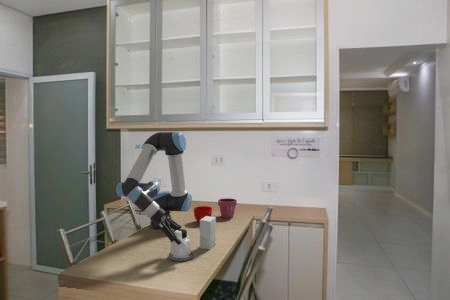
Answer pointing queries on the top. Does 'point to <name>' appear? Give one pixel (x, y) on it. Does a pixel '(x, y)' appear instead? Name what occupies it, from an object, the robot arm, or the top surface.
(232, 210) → the plant pot
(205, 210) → the ceramic cup
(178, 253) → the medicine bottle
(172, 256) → the pad
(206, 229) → the skincare box
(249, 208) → the top surface
